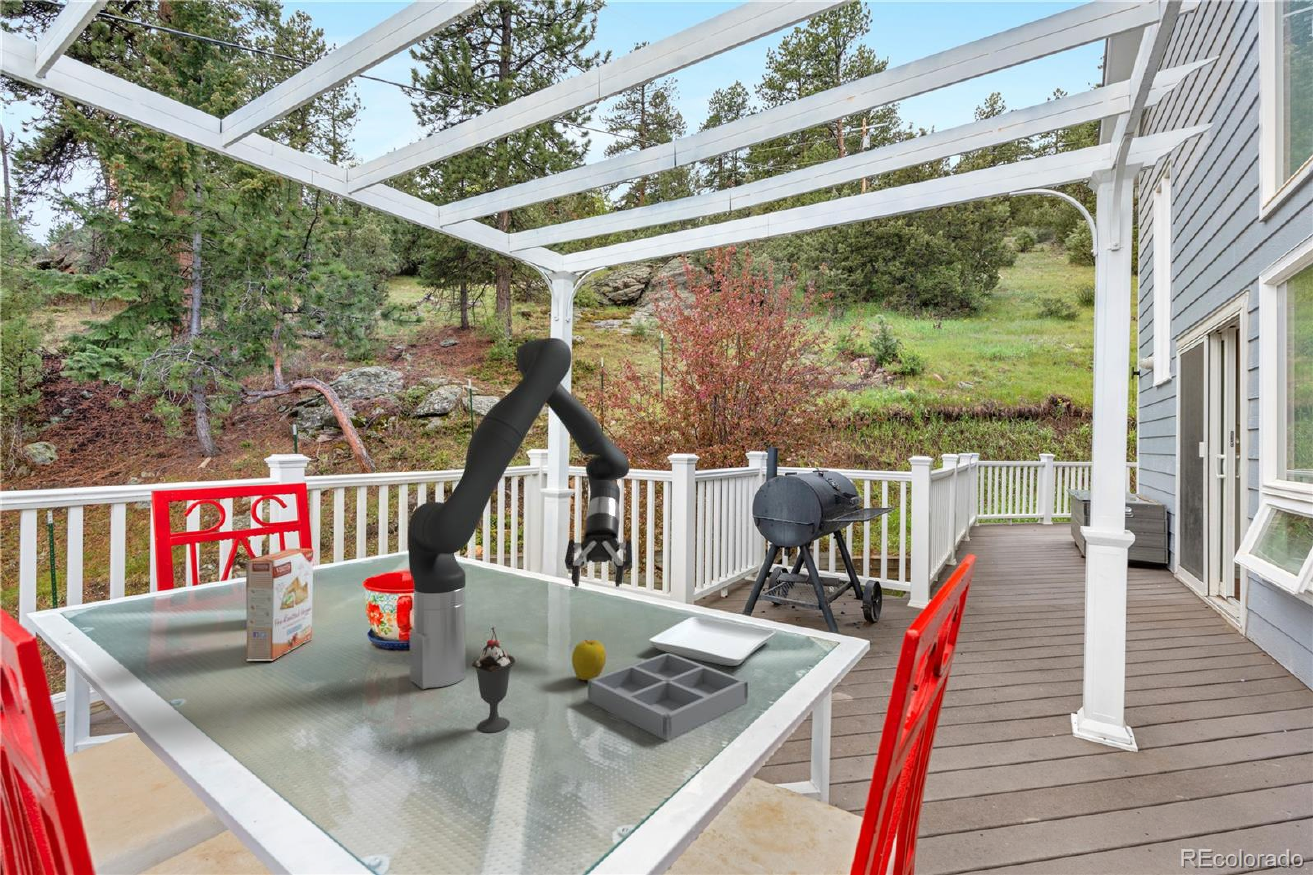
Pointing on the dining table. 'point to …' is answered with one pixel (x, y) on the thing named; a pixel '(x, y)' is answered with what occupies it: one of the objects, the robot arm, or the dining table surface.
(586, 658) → the apple
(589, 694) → the tray
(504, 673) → the sundae
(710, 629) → the salad plate
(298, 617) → the cracker box
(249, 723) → the dining table surface
